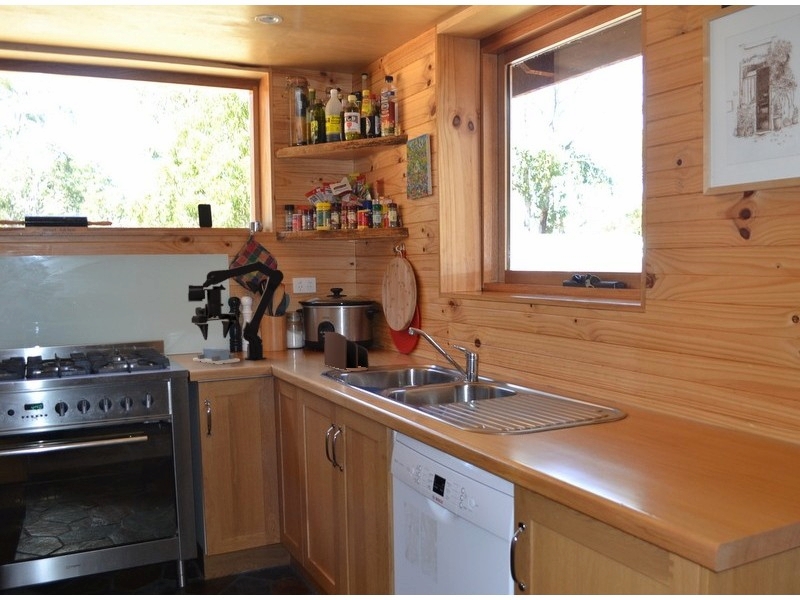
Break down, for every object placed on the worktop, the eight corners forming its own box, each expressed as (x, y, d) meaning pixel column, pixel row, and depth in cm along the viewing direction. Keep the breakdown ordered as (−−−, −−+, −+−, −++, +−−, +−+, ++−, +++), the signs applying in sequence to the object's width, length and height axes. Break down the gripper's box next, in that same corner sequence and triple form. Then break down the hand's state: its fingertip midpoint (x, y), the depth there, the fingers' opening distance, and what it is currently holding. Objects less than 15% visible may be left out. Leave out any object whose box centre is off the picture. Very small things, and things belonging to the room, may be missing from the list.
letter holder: (344, 373, 263) (344, 335, 262) (324, 366, 280) (323, 330, 279) (369, 370, 268) (368, 333, 267) (347, 364, 285) (346, 328, 284)
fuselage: (229, 359, 294) (229, 349, 294) (220, 360, 291) (220, 350, 290) (209, 356, 303) (209, 346, 303) (200, 357, 300) (200, 347, 300)
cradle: (239, 361, 294) (239, 354, 294) (219, 364, 287) (218, 357, 286) (213, 357, 306) (213, 351, 306) (193, 360, 298) (193, 353, 298)
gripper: (221, 299, 307) (222, 335, 308) (183, 301, 293) (184, 339, 294) (237, 300, 300) (238, 337, 301) (199, 302, 285) (200, 341, 287)
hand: (215, 339), depth 296 cm, fingers open, 9 cm apart
